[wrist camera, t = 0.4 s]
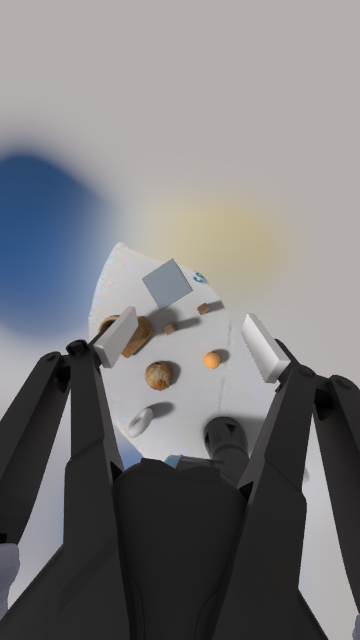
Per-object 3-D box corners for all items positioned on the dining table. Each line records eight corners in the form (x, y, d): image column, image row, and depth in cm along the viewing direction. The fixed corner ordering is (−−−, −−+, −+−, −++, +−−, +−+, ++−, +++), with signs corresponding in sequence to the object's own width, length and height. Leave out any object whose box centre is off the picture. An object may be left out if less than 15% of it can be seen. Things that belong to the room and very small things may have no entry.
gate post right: (206, 311, 48) (210, 310, 39) (200, 314, 48) (202, 314, 40) (203, 305, 48) (205, 302, 39) (197, 308, 49) (198, 307, 40)
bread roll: (171, 359, 54) (166, 357, 47) (176, 387, 50) (171, 389, 42) (149, 365, 55) (140, 363, 48) (152, 392, 51) (142, 395, 43)
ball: (221, 360, 48) (224, 366, 43) (208, 367, 49) (210, 374, 43) (213, 347, 48) (216, 351, 43) (200, 355, 49) (201, 360, 44)
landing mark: (192, 290, 49) (192, 290, 48) (160, 310, 50) (160, 310, 50) (172, 258, 49) (172, 258, 49) (142, 278, 50) (141, 278, 50)
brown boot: (136, 308, 51) (113, 305, 36) (157, 331, 50) (142, 338, 35) (110, 334, 52) (77, 342, 37) (130, 357, 52) (104, 373, 37)
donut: (138, 421, 52) (125, 446, 42) (133, 414, 52) (119, 437, 42) (158, 408, 51) (150, 430, 41) (153, 401, 51) (143, 421, 41)
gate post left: (177, 328, 49) (174, 331, 41) (171, 331, 50) (167, 335, 41) (174, 322, 50) (170, 324, 41) (168, 326, 50) (163, 328, 41)
